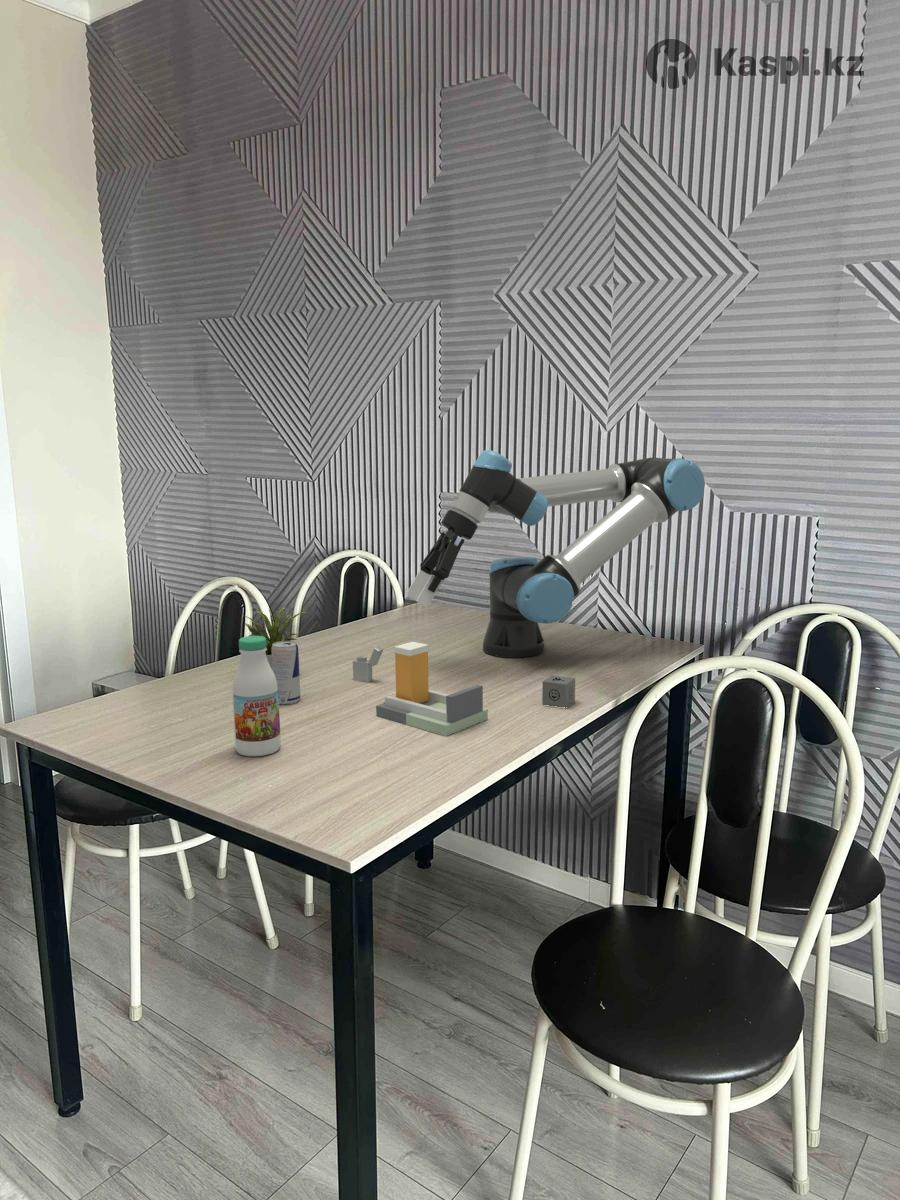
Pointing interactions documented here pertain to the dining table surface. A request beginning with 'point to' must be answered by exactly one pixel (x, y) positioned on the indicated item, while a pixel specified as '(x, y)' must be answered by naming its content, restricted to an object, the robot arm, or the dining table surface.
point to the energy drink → (286, 671)
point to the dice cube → (558, 691)
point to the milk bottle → (255, 701)
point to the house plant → (272, 630)
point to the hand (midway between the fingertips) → (416, 601)
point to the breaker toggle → (412, 672)
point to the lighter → (366, 665)
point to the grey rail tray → (438, 711)
